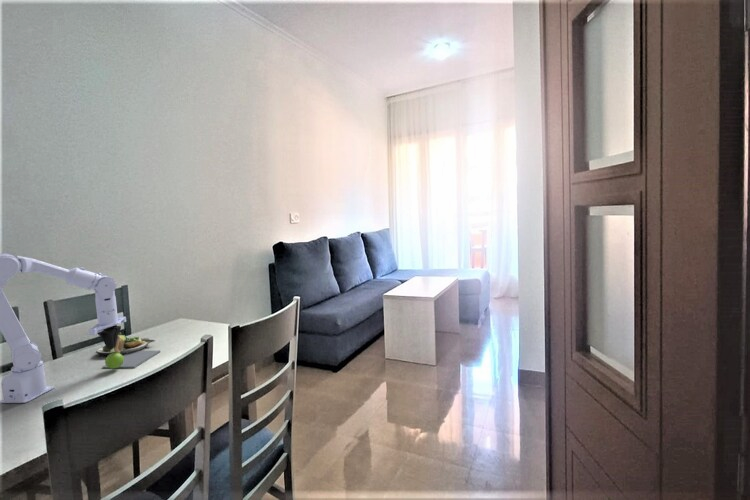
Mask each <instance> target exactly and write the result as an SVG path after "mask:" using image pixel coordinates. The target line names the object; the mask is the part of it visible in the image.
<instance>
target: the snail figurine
mask: <svg viewBox="0 0 750 500" xmlns="http://www.w3.org/2000/svg"><path fill="white" fill-rule="evenodd" d="M118 335H119V336H117V340H116V346H115V348H114V351H115V353H112V354H110V355H107V357H106V358H105V359H104V363H105V365H106V366H107V367H108V368H107V369H112V370H113V369H119V368H118V367H120V366H121V365H122V363H123V361H124V357H123V354H120V352H121V350H122V348H123V345H124V340H123V339H120V335H122V332H119V334H118Z"/></svg>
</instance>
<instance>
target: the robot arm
mask: <svg viewBox="0 0 750 500" xmlns="http://www.w3.org/2000/svg"><path fill="white" fill-rule="evenodd" d="M86 269H87V268H85V267H83V266H80V267H73V268H71V269H67V268H64V267H63V266H59V265H55V264H53V263H52V264H51V263H49V262H45V261H41V260H38V259H35V258H33V257H27V256H22V255H16V256H15V255H13V254H11V253H0V333H1V335H2V337H4V340H5V341H6V344H7V345H8V348H9V350H10V353H11V354H10V355H11V358H12V364H13V366H12V367H11V368H10V370H11V371H10V372H9V374H7V375H5V376H4V377H3V378H2V380H1V383H0V384H1V390H2V391H1V392H2V397H3V400H1V403H2V404H6V403H7V404H10V403H11V404H15V403H16V404H17V403H19V404H25V403H26V404H27V403H28V402H31V401H32V400H34V399H36V398H38V397H40V396H41V395H44V394H45V393H47V392H49V391H52V390H53V389H54V388H55V386H54V385H53V386H51V385H47V381H46V374H45V365H44V361H43V360H42V353H41V351H40V350H39V347H38V345H37V344H36V343H35V342H32V341H31V340H30V339H29V337H28V335H27V333H26V332H25V329H24V328H23V326H22V324H21V322H20V321H19V319H18V317H17V315H16V313H15V311H14V309H13V307H12V305H11V303H10V302H9V301H8V298H7V296H6V294H5V293H4V290H3V288H4V286H5V285H6V284H7V282H8V281H9V280H10V279H11V278H13V277H14V276H15V275H16V274H18V273H19V272H21V274H27V273H32V272H36V273H40V274H45V275H48V276H52V277H56V278H61V279H64V280H65V282H66V284H68V285H71V286H75V287H79V288H82V289H86V290H93V291H94V296H95V298H94V301H95V308H96V319H97V324H96V325H94V326H93V327H91V328H89V329H88V335H89V336H96V335H98V336H99V337H100V338H101V340H102V342H103V343H104V346H105V345H106V347H107V349H113V348H115V346H116V340H117V336H118V335H120V334H119V333H120V331H121V329H122V326H121V324H122V323H127V317H126V316H119V315H118V308H117V307H118V306H117V297H116V294H115V293H116V291H115V290H116V289H117V283H116V281H115V280H114V278H112V277H110V276H107V275H105V274H102V272H93V271H90V270H86Z"/></svg>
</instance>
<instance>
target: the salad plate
mask: <svg viewBox="0 0 750 500" xmlns="http://www.w3.org/2000/svg"><path fill="white" fill-rule="evenodd" d="M119 335H120V339H123V340H124V345H123V348H122V350H121V352H120V354H122V355H125V354H126V353H130V352H134V351H141V350H142V349H144V348H145V347H147V346H148V345H149V344H150V343H153V342H156V339H151V338H149V337H140V336H133V337H127V336H126V335H124V334H118V336H119ZM96 353H97V354H98V355H99V356H101V357H102V356H104V357H106V356H108V355H110V354H112V353H115V351H114V348H113V349H107V347H106V345H105V344H104V346H102V347H100V348H98V349H97V350H96Z"/></svg>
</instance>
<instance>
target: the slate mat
mask: <svg viewBox="0 0 750 500" xmlns="http://www.w3.org/2000/svg"><path fill="white" fill-rule="evenodd" d="M160 353H161V350H138V351H134V352H130V353H124V354H122V356H123V357H124V361H123V363H122V365H121V366H120V367H118V368H117V369H136V368H137V367H139V366H140V365H142V364H143V363H145V362H148V360H151V358H153V357H155V356H157V354H160ZM102 369H109V368H108V367H107V366H106V364H105V365H103V366H102Z"/></svg>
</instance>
